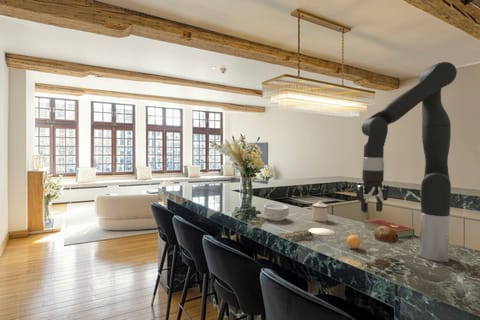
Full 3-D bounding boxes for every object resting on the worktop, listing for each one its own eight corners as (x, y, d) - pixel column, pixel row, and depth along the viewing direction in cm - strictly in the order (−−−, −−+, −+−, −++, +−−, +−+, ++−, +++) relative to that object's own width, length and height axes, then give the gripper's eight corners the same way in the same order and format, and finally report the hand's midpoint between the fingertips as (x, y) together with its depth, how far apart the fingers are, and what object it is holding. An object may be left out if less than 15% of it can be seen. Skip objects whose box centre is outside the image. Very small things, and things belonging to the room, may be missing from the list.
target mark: (338, 231, 146) (338, 230, 146) (330, 237, 136) (330, 236, 136) (313, 227, 154) (313, 226, 154) (304, 232, 143) (304, 232, 143)
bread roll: (380, 242, 140) (373, 227, 142) (402, 237, 134) (394, 221, 136) (375, 247, 133) (368, 231, 135) (398, 242, 127) (390, 225, 129)
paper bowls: (290, 222, 164) (290, 208, 163) (264, 221, 164) (264, 208, 163) (286, 216, 179) (286, 204, 179) (262, 216, 179) (262, 203, 179)
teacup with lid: (330, 221, 168) (331, 201, 168) (318, 222, 164) (319, 202, 164) (317, 216, 179) (318, 198, 179) (305, 218, 175) (306, 199, 175)
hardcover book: (378, 226, 160) (378, 218, 160) (414, 236, 141) (414, 228, 141) (362, 228, 156) (363, 220, 155) (397, 239, 136) (397, 230, 136)
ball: (361, 247, 121) (362, 235, 121) (359, 251, 116) (359, 238, 116) (348, 245, 124) (348, 232, 124) (345, 248, 119) (345, 235, 119)
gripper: (365, 169, 104) (363, 214, 105) (395, 169, 109) (394, 212, 109) (351, 168, 111) (350, 210, 112) (380, 168, 116) (378, 209, 116)
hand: (371, 211), depth 111 cm, fingers open, 6 cm apart
